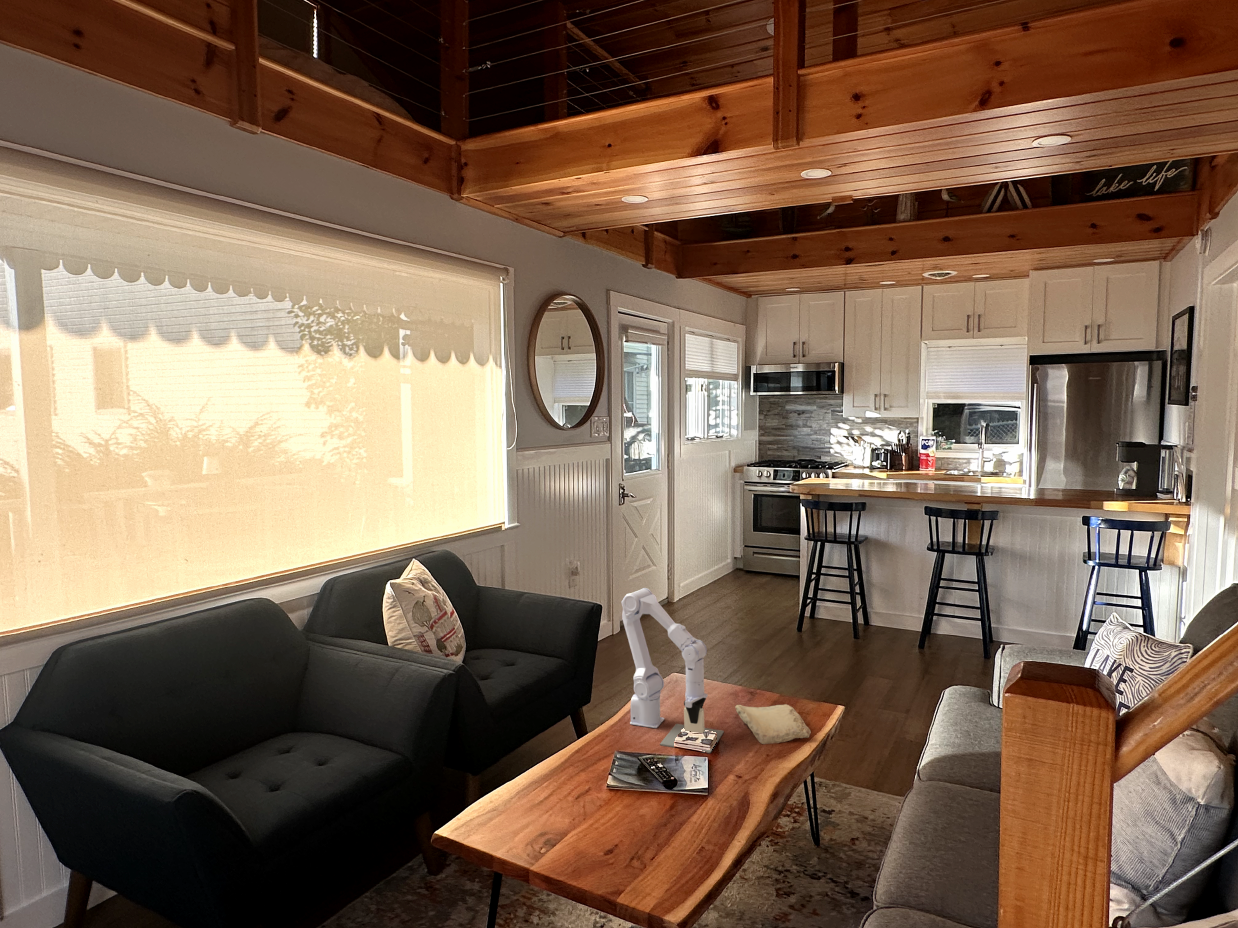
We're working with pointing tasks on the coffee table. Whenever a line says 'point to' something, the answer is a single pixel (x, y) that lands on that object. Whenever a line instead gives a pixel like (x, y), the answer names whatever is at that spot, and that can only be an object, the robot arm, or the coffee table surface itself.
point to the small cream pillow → (773, 723)
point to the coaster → (691, 726)
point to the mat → (677, 729)
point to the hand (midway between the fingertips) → (695, 721)
